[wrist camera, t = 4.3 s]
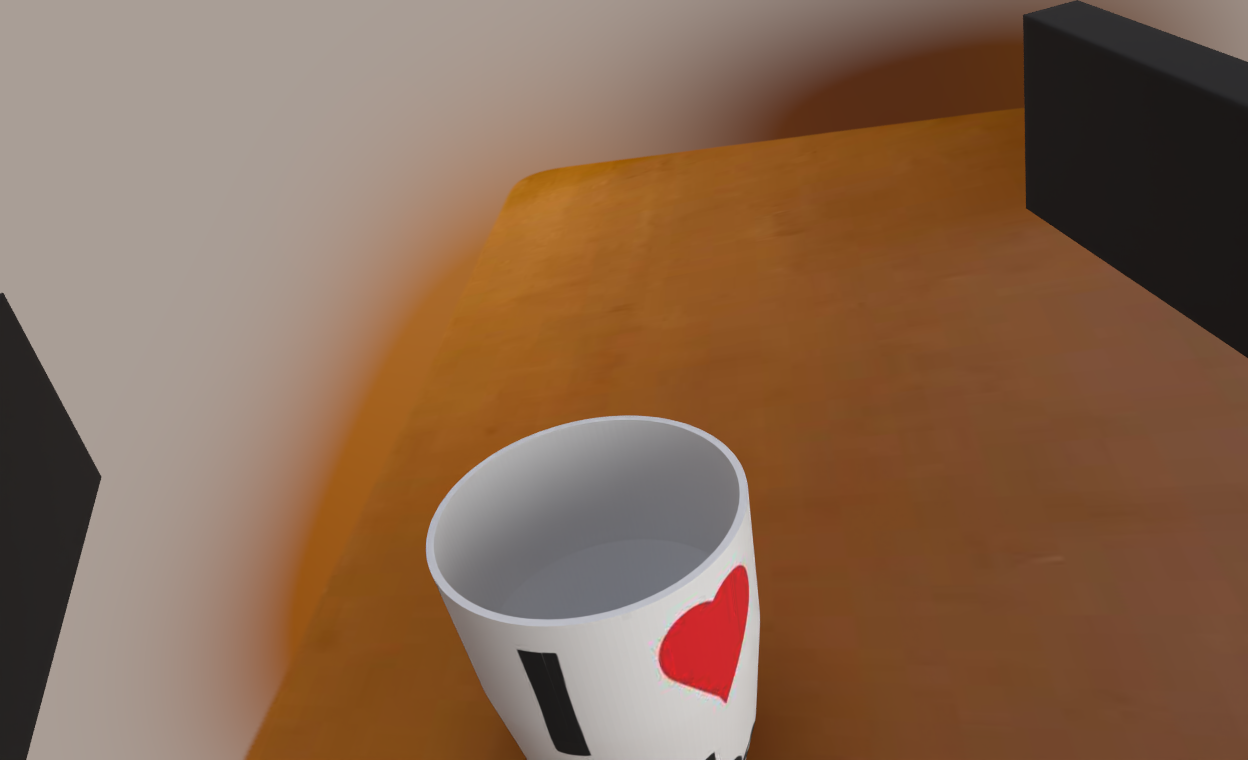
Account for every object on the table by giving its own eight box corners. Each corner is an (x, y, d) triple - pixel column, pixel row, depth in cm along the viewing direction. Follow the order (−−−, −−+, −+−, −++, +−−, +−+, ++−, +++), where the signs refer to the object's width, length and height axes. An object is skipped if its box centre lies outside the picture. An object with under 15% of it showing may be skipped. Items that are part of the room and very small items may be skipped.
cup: (550, 944, 30) (448, 671, 25) (498, 720, 37) (409, 470, 32) (840, 837, 32) (799, 555, 26) (737, 639, 38) (689, 383, 33)
